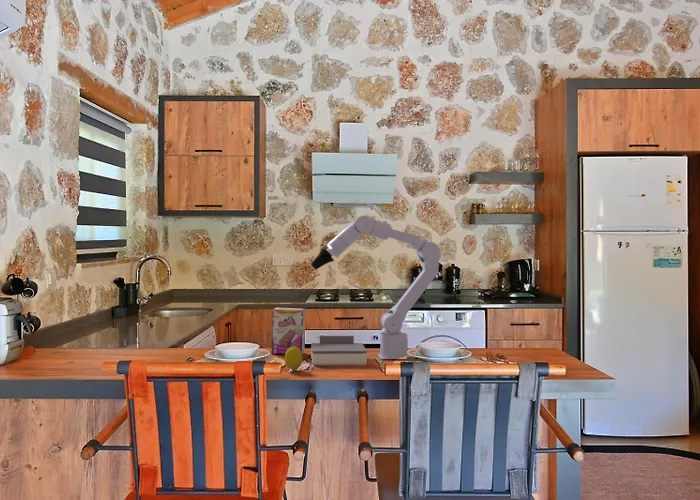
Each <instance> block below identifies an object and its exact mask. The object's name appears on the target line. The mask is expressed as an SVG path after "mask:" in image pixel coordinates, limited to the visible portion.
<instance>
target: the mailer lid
mask: <svg viewBox="0 0 700 500" xmlns="http://www.w3.org/2000/svg"><path fill="white" fill-rule="evenodd" d="M354 338H355V337H354V335H319V342H311V343H310V345H311V346H310V348H311V347H312V353H367V354H368V351H367V349H366V347H365V345H364V344H363V343H362V342H355V339H354Z"/></svg>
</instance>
